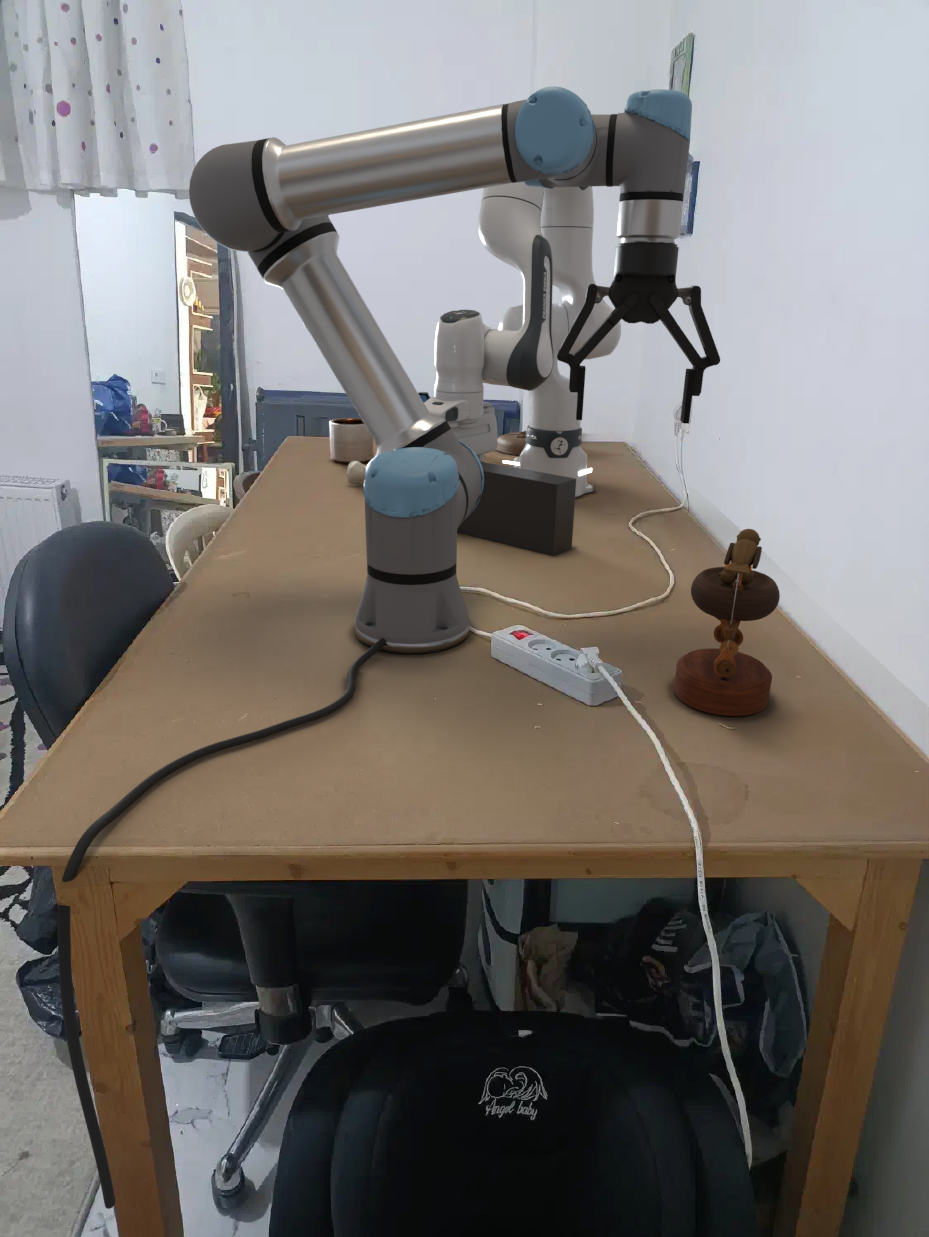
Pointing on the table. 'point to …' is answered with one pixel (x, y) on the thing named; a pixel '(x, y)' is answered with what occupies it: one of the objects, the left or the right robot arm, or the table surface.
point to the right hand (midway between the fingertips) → (457, 482)
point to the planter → (350, 441)
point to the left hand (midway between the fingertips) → (631, 420)
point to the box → (524, 509)
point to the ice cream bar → (512, 443)
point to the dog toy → (356, 472)
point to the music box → (729, 635)
